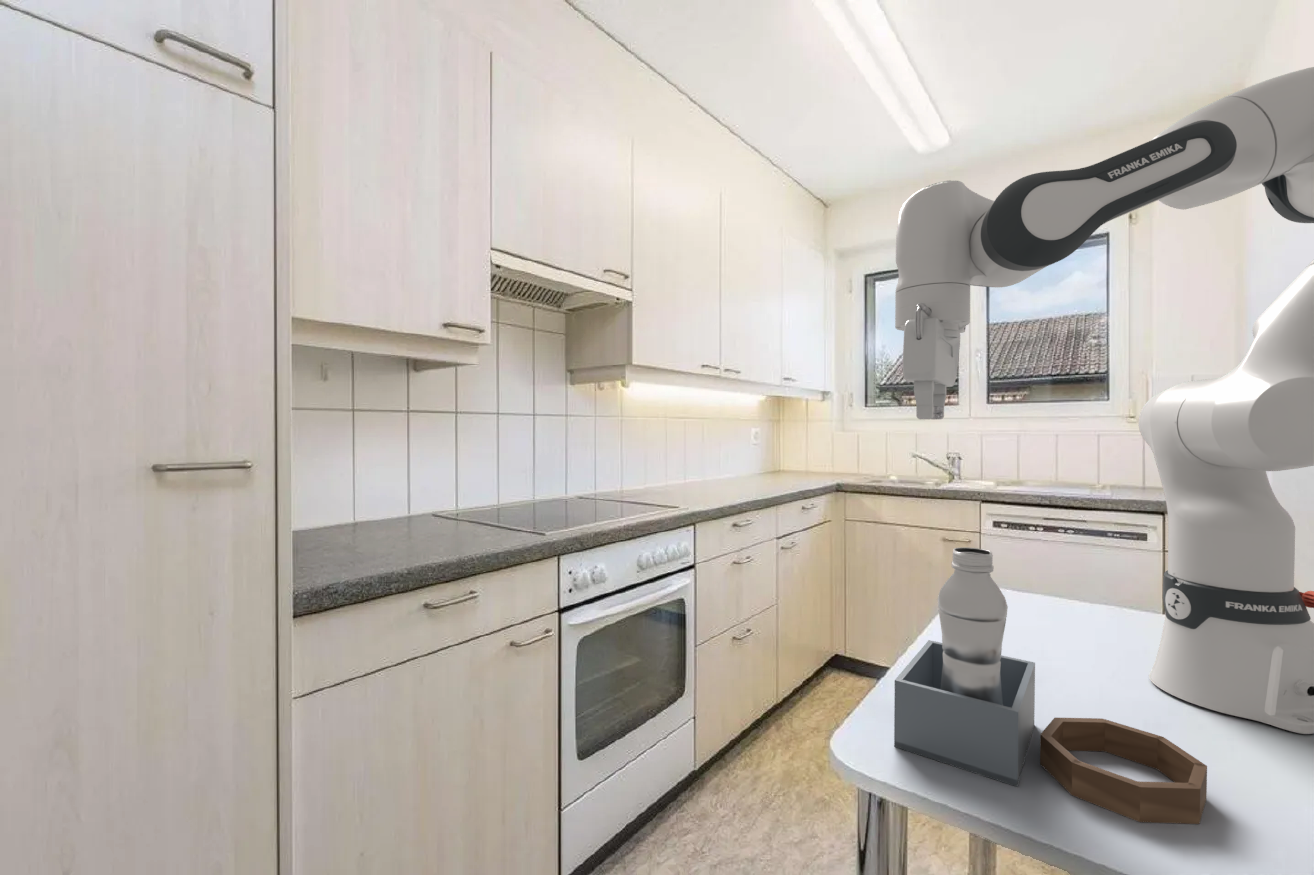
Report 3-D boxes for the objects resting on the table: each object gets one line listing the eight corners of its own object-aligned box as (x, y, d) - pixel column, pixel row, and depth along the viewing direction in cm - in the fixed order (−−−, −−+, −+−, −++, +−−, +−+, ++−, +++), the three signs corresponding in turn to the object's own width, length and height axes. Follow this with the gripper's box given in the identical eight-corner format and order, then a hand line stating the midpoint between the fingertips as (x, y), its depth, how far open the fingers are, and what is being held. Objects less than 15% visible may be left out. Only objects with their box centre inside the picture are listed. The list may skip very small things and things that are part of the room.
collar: (1136, 747, 61) (1137, 719, 60) (1242, 825, 49) (1243, 789, 49) (1020, 745, 61) (1020, 716, 61) (1097, 820, 50) (1098, 785, 49)
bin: (928, 696, 72) (928, 640, 72) (1034, 724, 65) (1035, 662, 65) (894, 746, 61) (894, 680, 61) (1017, 786, 54) (1018, 712, 54)
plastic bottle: (934, 753, 59) (936, 554, 58) (936, 722, 65) (938, 542, 64) (1009, 770, 56) (1012, 561, 55) (1004, 736, 62) (1006, 547, 61)
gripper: (948, 296, 66) (947, 419, 66) (966, 321, 83) (965, 419, 84) (889, 302, 69) (888, 419, 70) (918, 326, 87) (917, 419, 87)
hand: (930, 419), depth 77 cm, fingers open, 8 cm apart
